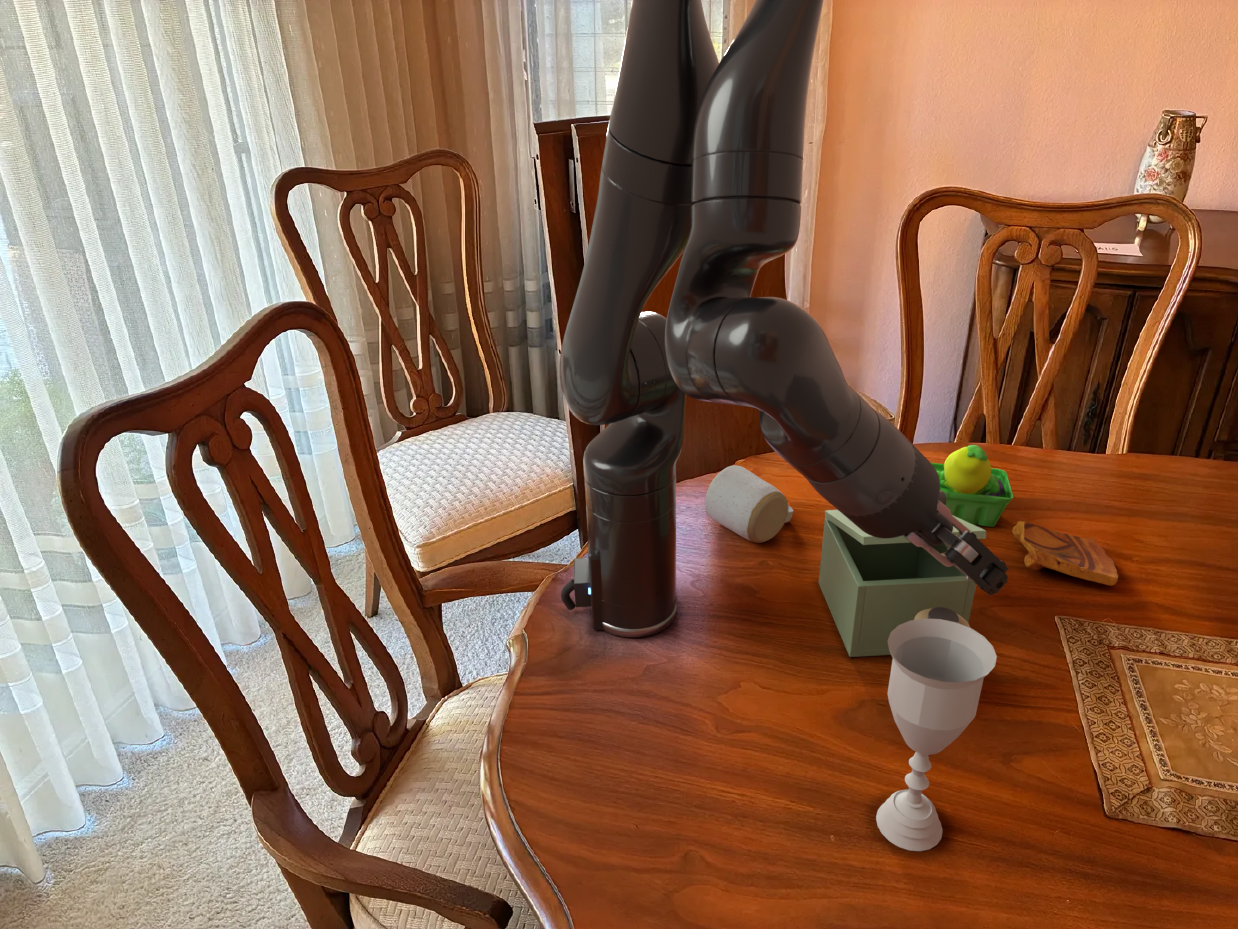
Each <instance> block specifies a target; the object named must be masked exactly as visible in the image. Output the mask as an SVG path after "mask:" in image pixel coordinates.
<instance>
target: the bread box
mask: <svg viewBox="0 0 1238 929" xmlns="http://www.w3.org/2000/svg"><path fill="white" fill-rule="evenodd" d="M822 532H823V533H822V541H821V542H822V543H821V553H820V564H819V575H818V586H819V588H820V590H821V592H822V595H823V597H824V599H825V602H826V604H827V607H828V609H829V611H830V614H831V616H832V619H833V622H834V623H835V626H836V628H837V631H838V633H839V635H840V637H841V640H842V643H843V645H844V647H845V649H846V652H847V655H848V656H849V658H857V657H858V658H859V657H875V656H892V655H891V653H890V651H889V647H888V642H887V641H888V638H889V636H890V633H891V632H892V631H893V630H894V629H895V628H896V627H897V626H898V625H901V624H903V623H906V622H908V621H911V620H914V618H915V616H916V615H917V614H918V613H919V612H920V611H923V610H925V609H931V608H936V607H943V608H948V609H950V610H952V611H954V612H955V613H956V614H958V615H960V616H961V617H963V618H964V619H965V620H966V621H967V622H968V624H970V618H971V614H972V607H973V603H974V598H975V594H976V588H977V584H976V583H974V582H973V581H972V580H970V581H969V580H967V579H966V578H965V575H964V574H963V573H962V572H961V571H959V570H958V569H957V568H956V567H955V566H951V567H946V566H944V565H943V564H941V563H940V562H939V561H938V560H936V559H935V558H934V557H933V556H932V555H930V554H929V553H928V552H927V551H926V550H924V549H923V548H922V547H917V546H915V545H914V544H912V543H894V544H874V545H863V544H862V543H860V542H859V541H857V540H856V539H855V538H853V537H852V536H850V535H849V534H848V533H846V532H845V531H843V530H842V529H841V528H839V527H838V526H836V525H835V524H834V523H832V522H831V521H829V520H828V519H827V518H825V517H824V522H823V530H822ZM929 545H930V544H929ZM930 546H931V545H930ZM932 547H933V548H934V549H935V550H936V551H938V552H939V553H945V552H946V551H947V550H948V549H949V548H950V547H949V546H948V545H947V544H945V543H944V542H943V543H942V544H941V545H940V546H932Z"/></svg>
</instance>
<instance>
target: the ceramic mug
mask: <svg viewBox="0 0 1238 929" xmlns="http://www.w3.org/2000/svg"><path fill="white" fill-rule="evenodd" d="M704 509H705V512H706V514H707V516H708V517H709V518H710V519H711V520H713V521H714V522H716V523H718V524H720V525H721V526H723V527H725V528H726V529H728V530H730V531H732V532H734V533H735V534H736V535H738V536H740V537H741V538H743V539H745V540H747V541H749V542H752V543H756V544H761V543H765V542H767V541H770V540H771V539H773V538H774V537H775V536H776V535H777V534H778V533H779V532H780V531H781V530H782V528H783V527H784V525H785V524H786V523H789V522H790V521H791V520H792V517H793V514H794V509H793V508H792V507H791V506H790V505H789V503H788V499H787V497H786V495H785V494H784V493H783V492H782V491H780V490H779V489H778V488H777V487H775V486H774V485H773V484H771V483H769V482H767V481H765V480H764V479H762V478H761V477H760V476H758V475H756V474H755V473H753V472H752V471H750V470H748V469H747V468H745V467H743V466H742V465H735V464H733V465H730V466H727V467H725V468H724V469H722V470H721V471H720V472H718V473H717V474H716V475H715V477H714V478H713V479H712V481H711V482H710V484H709V485H708V488H707V491H706V494H705V498H704Z"/></svg>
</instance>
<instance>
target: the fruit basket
mask: <svg viewBox="0 0 1238 929" xmlns="http://www.w3.org/2000/svg"><path fill="white" fill-rule="evenodd" d="M988 458H989V457H988V455H987V453H986V451H985V450H984V449H983V448H982V447H981V446H979V445H977V444H969V445H968V446H964V447H961V448H959V449H957V450H955V451H953V452H951V453H950V454H949V455H948V456H947V458H946V459H945V461H944V463H939V462H938V463H937V462H930V463H931V464H932V465H933V466H934V467H935V469H936V471H937V473H938V476H939V480H940V491H944V493H945V495H946V505H945V506H946V507H948V508H949V509H950V511H951V515H953V516H955V517H957V518H960V519H962V520H964V521H966V522H968V523H971V524H973V525H975V526H982V527H989V528H994V527H995V526H996V525H997V523H998V521H999V520H1000V517H1001V516H1002V514H1003V513H1004V511H1005V509H1006V507H1007V506H1008V505H1009V504H1010V503H1011V501H1012V500H1013V499H1014V494H1013V490H1012V487H1011V486H1012V485H1011V483H1010V480H1009V476H1008V473H1007V472H1006V470H1004V469H1001V468H996V467H995V468H994V467H992V465H991V462H990V461H989V459H988Z"/></svg>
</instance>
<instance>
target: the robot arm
mask: <svg viewBox="0 0 1238 929" xmlns="http://www.w3.org/2000/svg"><path fill="white" fill-rule="evenodd" d="M824 1H825V0H755V1H754V2H753V5H752V7H751V8H750V11H749V13H748V15H747V16H746V18H745V20H744V22H743V23H742V25H741V27H740V29H739V30H738V32H737V34H736V35H735V37H734V39H733V40H732V42H731V43H730V45H729V46H728V48H727V50H726V51H725V53H724V54H723V56H722V57H721V60H720V61H719V59H718V55H717V52H716V50H715V47H714V43H713V40H712V38H711V35H710V31H709V28H708V27H709V26H708V25H707V20H706V16H705V12H704V7H703V1H702V0H631V7H630V12H629V13H630V14H629V18H628V24H627V28H626V29H627V30H626V34H625V39H624V47H623V51H622V56H621V60H620V61H621V62H620V66H619V67H620V68H619V72H618V77H617V83H616V86H615V93H614V98H613V102H612V107H611V112H610V117H609V120H608V126H607V132H606V138H605V144H604V149H603V155H602V163H601V168H600V176H599V184H598V191H597V198H596V205H595V209H594V214H593V219H592V226H591V231H590V235H589V241H588V245H587V250H586V255H585V259H584V265H583V268H582V272H581V276H580V280H579V283H578V287H577V290H576V293H575V297H574V300H573V304H572V308H571V311H570V314H569V317H568V321H567V324H566V328H565V332H564V336H563V340H562V344H561V349H560V356H559V381H560V388H561V392H562V396H563V399H564V401H565V404H566V406H567V408H568V410H569V412H571V414H572V415H573V416H574V417H575V418H576V419H577V420H579V421H580V422H582V423H584V424H586V425H591V426H604V425H607V426H606V427H605V428H604V429H603V430H602V431H600V432H599V433H598V434H597V435H596V436H594V437H593V438H592V440H590V442H589V443H588V444H587V446H586V447H585V450H584V452H583V458H582V461H583V463H582V464H583V477H584V491H585V492H584V493H585V511H586V530H587V557H580V558H579V557H578V558H574V559H573V578H572V579H571V580H569V581H568V582H567V583H566V584H565V585H564V586H563V588H561V592H560V598H561V601H562V603H563V604H564V606H565V607H566V608H567V610H568V611H572V610H574V609H575V608H587V607H588V608H590V612H591V626H592V630H593V631H604V632H607V633H609V634H611V635H614V636H618V637H622V638H642V637H648V636H651V635H655V634H658V633H660V632H662V631H664V630H665V629H667V628H668V627H669V626H670V625H671V624H672V623H673V622H674V620H675V619H676V617H677V613H678V599H677V462H678V459H679V457H680V455H681V453H682V450H683V446H684V439H685V418H686V404H687V402H686V401H687V396H688V397H690V398H692V399H694V400H697V401H701V402H706V403H713V404H714V403H715V404H723V405H724V404H725V405H733V406H742V407H748V408H749V407H750V408H754V409H757V410H759V420H758V422H759V428H760V432H761V434H762V436H763V438H764V440H765V441H766V443H767V444H768V445H769V446H770V447H771V448H772V450H773V451H774V452H775V453H776V454H777V455H778V457H781V459H783V460H784V461H785V462H786V463H788V464H789V465H790V466H791V467H792V468H793V469H794V470H796V471H797V472H798V473H799V474H800V475H801V476H803V478H805V479H806V480H807V482H808V484H810V486H811V487H812V488H813V489H814V490H815V491H816V493H818V495H819V496H821V497H822V498H823V499H824V500H825V501H827V502H828V503H829V504H830V505H831V506H833V508H835V510H839V511H840V512H841V513H842V514H843V515H844V516H846V517H847V518H848V519H849V520H850V521H851V522H853V523H854V524H855V525H856V526H857V527H859V528H860V529H861V530H862V531H863V532H865V533H867V534H868V535H871V536H873V537H877V538H895V537H899V536H902V535H903V536H904V537H905V538H906V539H907V540H909V541H910V542H911V543H912V544H914V545H915V546H917V547H922V548H923V549H924V550H926V551H927V552H928V553H929V554H930V555H932V556H933V557H934V558H935V559H936V560H938V561H939V562H940V563H941V564H943V565H944V566H946V567H951V566H955V567H956V568H957V569H958V570H959V571H961V572H962V573H963V574H964V575H965V578H966V579H967V580H969V581H970V580H972V581H973V582H974V583H976V588H978V589H980V590H981V591H983V592H984V593H985V594H988V596H991V597H992V596H994V595H997V594H998V593H1000V591H1001V590H1002V589H1003V588H1004V587H1005V586H1006V585H1007V584H1008V582H1009V581H1008V579H1009V576H1008V574H1007V572H1008V571H1009V570H1010V568H1009V567H1008V566H1007V564H1006V562H1004V561H1003V560H1002V559H1000V558H999V557H998V556H996V554H994V553H993V552H992V551H991V550H990V549H989V548H988V547H987V546H986V545H985V544H984V543H983V542H982V541H981V539H977V538H976V537H977V536H976V535H975V534H974V533H973V532H972V531H970V530H969V529H968V528H967V527H966V526H964V525H963V524H962V523H961V522H959V521H958V520H957V519H956V518H955V517H953V516H952V515H951V511H950V509H949V508H948V507H946V506H945V505H944V504H943V503H942V502H940V501H939V500H938V498H939V493H940V480H939V476H938V473H937V471H936V469H935V467H934V466H933V465H932V464H931V463H932V462H931V461H930V460H929V459H928V458H927V457H926V455H924V454H923V453H922V452H921V451H920V450H919V449H918V448H917V447H916V445H914V444H913V443H912V442H911V441H910V440H909V438H908V437H906V436H905V434H904V433H903V432H902V431H900V429H899V428H898V427H896V426H895V424H894V423H893V422H891V421H890V420H889V419H888V418H887V417H885V416H884V415H883V414H882V413H880V412H878V411H877V410H875V408H874V407H872V406H871V404H869V403H868V402H867V401H866V400H865V398H863V397H862V395H860V394H859V393H858V391H857V390H856V389H854V387H852V385H850V384H849V383H848V382H847V380H846V377H845V375H844V372H843V370H842V367H841V364H840V362H839V361H838V358H837V356H836V354H835V352H834V350H833V348H832V346H831V343H830V341H829V339H828V336H827V335H826V333H825V331H824V329H823V328H822V326H821V324H820V323H819V322H818V320H817V319H816V318H815V317H814V316H813V315H812V314H810V313H809V312H808V311H807V310H806V309H805V308H802V307H801V306H800V305H798V304H796V303H794V302H792V301H790V300H788V299H786V298H783V297H776V296H752V293H753V289H754V286H755V283H756V280H757V278H758V274H759V273H760V272H759V271H760V270H761V268H762V267H763V266H764V265H765V264H767V263H769V262H770V261H773V260H775V259H777V258H780V257H782V256H783V255H786V254H787V253H789V252H791V251H792V250H793V249H794V247H795V246H796V244H797V242H798V239H799V235H800V229H801V220H802V219H801V217H802V205H801V204H802V197H803V177H804V174H803V173H804V155H805V154H804V153H805V152H804V151H805V128H806V117H807V116H806V115H807V104H808V93H809V88H810V87H809V86H810V80H811V79H810V78H811V72H812V65H813V59H814V53H815V48H816V42H817V36H818V31H819V27H820V21H821V16H822V12H823V6H824ZM680 257H681V259H680ZM679 259H680V263H679V266H678V271H677V275H676V278H675V282H674V285H673V290H672V294H671V298H670V301H669V306H668V310H667V315H666V317H665V316H663V315H662V314H661V313H657V312H654V311H644V308H645V306H646V304H647V302H648V301H649V299H650V297H651V296H652V295H653V293H654V291H655V290H656V288H657V287H658V286H659V284H660V283H661V282H662V280H663V279H664V278H665V277H666V275H667V274H668V273H669V271H670V270H671V269H672V268H673V266H675V263H677V261H678V260H679ZM953 526H954V527H955V528H956V529H957V530H958V531H959V537H958V536H956V535H955V534H954V533H952V531H953ZM943 542H944V543H945V544H947V545H948V546H949V547H950V548H949V549H948V550H947V551H946V552H945V553H939V552H938V551H936V550H935V549H934V548H933V547H932V546H940V545H941V544H942V543H943ZM929 544H930V545H931V546H930V545H929ZM573 591H574V592H573ZM572 592H573V593H574V600H573V598H572V597H571V593H572Z"/></svg>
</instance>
